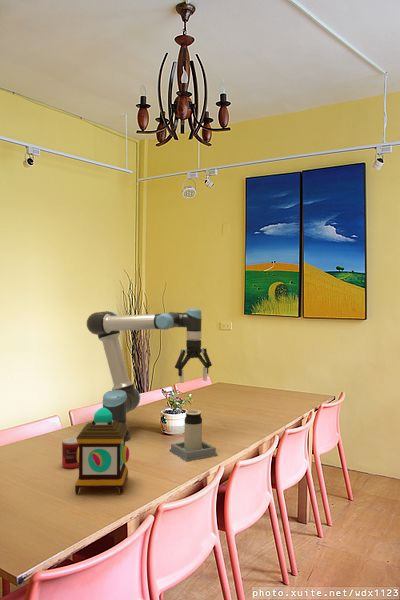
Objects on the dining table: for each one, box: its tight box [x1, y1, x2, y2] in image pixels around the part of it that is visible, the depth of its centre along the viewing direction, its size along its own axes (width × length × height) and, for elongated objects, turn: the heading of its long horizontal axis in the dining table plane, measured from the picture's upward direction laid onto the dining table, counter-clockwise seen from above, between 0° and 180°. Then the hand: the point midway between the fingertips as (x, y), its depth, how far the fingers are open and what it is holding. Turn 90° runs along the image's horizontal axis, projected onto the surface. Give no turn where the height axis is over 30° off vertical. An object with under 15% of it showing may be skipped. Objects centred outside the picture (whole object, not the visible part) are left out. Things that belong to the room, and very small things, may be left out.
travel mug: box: [183, 409, 203, 452], centre depth 231 cm, size 8×8×18 cm
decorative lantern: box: [74, 407, 130, 495], centre depth 192 cm, size 20×20×30 cm
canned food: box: [61, 437, 79, 470], centre depth 214 cm, size 8×8×11 cm
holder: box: [169, 440, 218, 462], centre depth 231 cm, size 16×16×4 cm
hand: (193, 381), depth 255 cm, fingers open, 13 cm apart
